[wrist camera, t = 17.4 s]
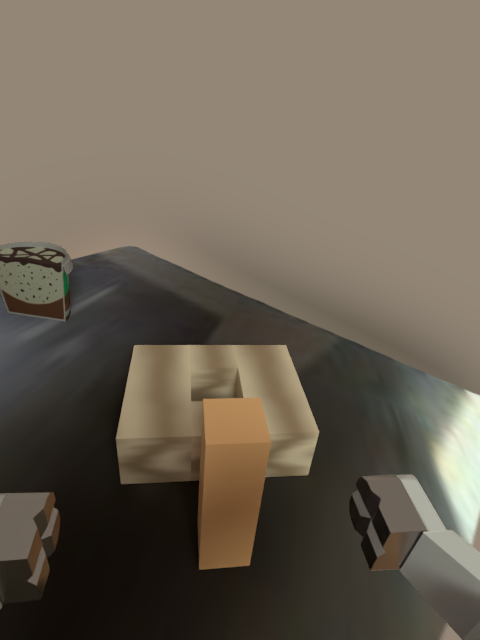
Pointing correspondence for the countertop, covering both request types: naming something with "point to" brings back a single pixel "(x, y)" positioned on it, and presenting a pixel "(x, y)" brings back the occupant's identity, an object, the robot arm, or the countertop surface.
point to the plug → (230, 480)
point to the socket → (187, 404)
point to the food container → (35, 280)
